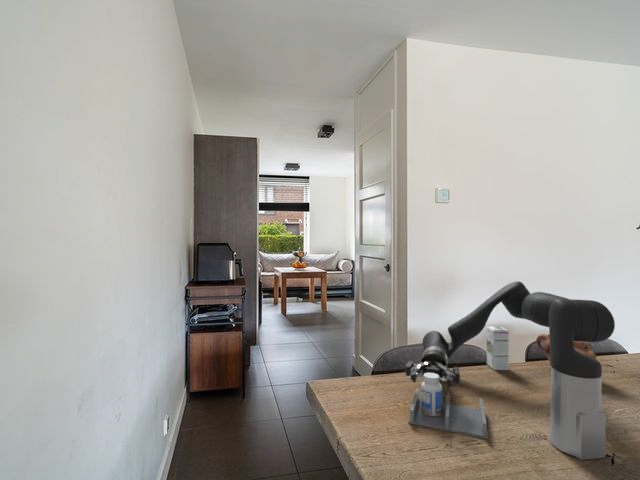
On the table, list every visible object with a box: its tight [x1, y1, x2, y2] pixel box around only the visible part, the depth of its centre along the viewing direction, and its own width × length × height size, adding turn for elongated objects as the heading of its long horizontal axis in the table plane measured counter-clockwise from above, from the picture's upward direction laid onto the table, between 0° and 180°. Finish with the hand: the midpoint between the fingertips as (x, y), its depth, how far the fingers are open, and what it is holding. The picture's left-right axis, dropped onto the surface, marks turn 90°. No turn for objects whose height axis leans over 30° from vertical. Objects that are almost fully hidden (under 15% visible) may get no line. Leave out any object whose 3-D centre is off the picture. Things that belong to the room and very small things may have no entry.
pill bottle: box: [420, 373, 443, 416], centre depth 93 cm, size 6×5×10 cm
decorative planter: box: [535, 332, 597, 366], centre depth 124 cm, size 20×12×14 cm, turn 28°
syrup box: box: [486, 325, 510, 371], centre depth 129 cm, size 6×6×14 cm
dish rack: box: [408, 388, 489, 440], centre depth 92 cm, size 14×18×4 cm
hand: (430, 381), depth 92 cm, fingers open, 8 cm apart
